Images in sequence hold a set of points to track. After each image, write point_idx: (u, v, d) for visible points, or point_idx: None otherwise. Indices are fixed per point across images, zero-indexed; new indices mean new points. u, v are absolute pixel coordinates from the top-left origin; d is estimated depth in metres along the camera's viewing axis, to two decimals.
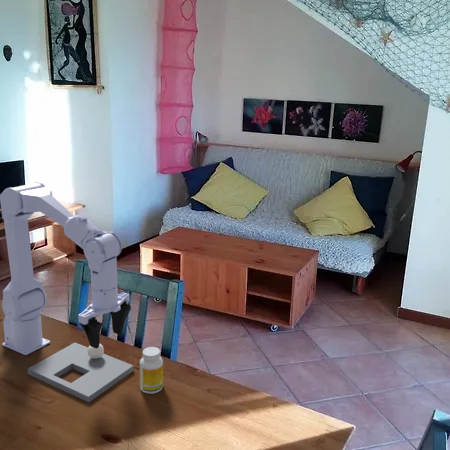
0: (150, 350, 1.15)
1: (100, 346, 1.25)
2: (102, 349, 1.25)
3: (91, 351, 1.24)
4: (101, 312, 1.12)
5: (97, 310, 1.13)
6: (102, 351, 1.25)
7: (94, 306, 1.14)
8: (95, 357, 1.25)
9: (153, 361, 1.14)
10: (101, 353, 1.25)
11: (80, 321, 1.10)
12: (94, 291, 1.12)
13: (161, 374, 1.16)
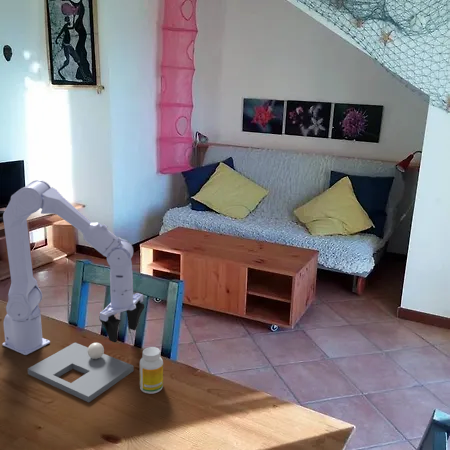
0: (150, 350, 1.16)
1: (100, 346, 1.25)
2: (102, 349, 1.25)
3: (91, 351, 1.24)
4: (119, 310, 1.28)
5: (115, 308, 1.29)
6: (102, 351, 1.25)
7: (113, 305, 1.30)
8: (95, 357, 1.25)
9: (154, 361, 1.14)
10: (101, 353, 1.25)
11: (101, 318, 1.26)
12: (113, 292, 1.28)
13: (161, 374, 1.16)
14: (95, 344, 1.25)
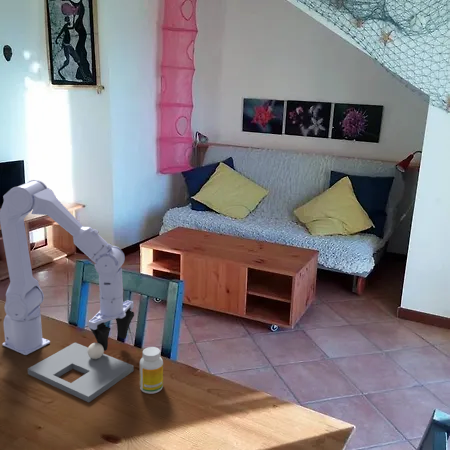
0: (150, 350, 1.15)
1: (100, 346, 1.25)
2: (102, 349, 1.25)
3: (91, 351, 1.24)
4: (108, 318, 1.25)
5: (105, 317, 1.26)
6: (102, 351, 1.25)
7: (102, 313, 1.27)
8: (95, 357, 1.25)
9: (154, 361, 1.14)
10: (101, 353, 1.25)
11: (90, 326, 1.23)
12: (102, 300, 1.25)
13: (161, 374, 1.16)
14: (95, 344, 1.25)
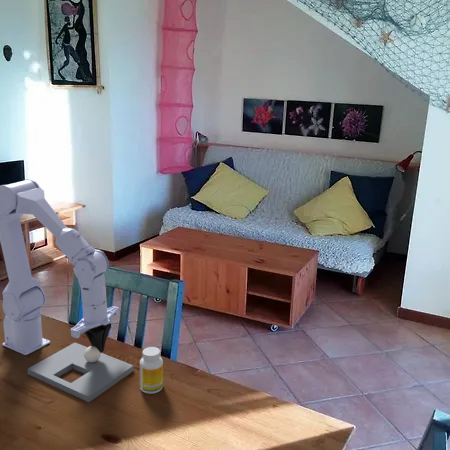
0: (150, 350, 1.16)
1: (95, 353, 1.23)
2: (97, 354, 1.23)
3: (88, 360, 1.23)
4: (92, 326, 1.19)
5: (88, 324, 1.20)
6: (98, 355, 1.24)
7: (85, 320, 1.21)
8: (94, 361, 1.24)
9: (153, 361, 1.14)
10: (98, 357, 1.24)
11: (72, 335, 1.18)
12: (85, 306, 1.20)
13: (161, 374, 1.16)
14: (89, 353, 1.23)
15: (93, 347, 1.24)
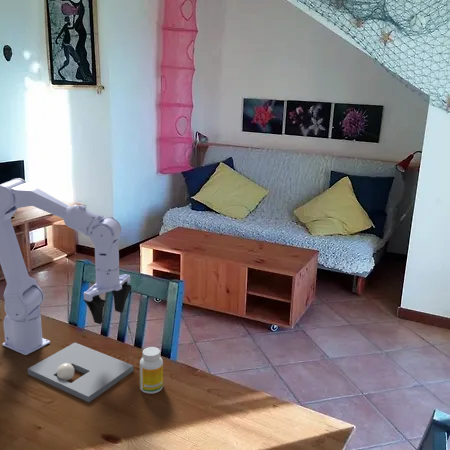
0: (150, 350, 1.16)
1: None
2: (72, 376, 1.19)
3: (70, 365, 1.19)
4: (104, 290, 1.23)
5: (101, 289, 1.24)
6: (71, 377, 1.19)
7: (98, 285, 1.24)
8: (65, 372, 1.17)
9: (153, 361, 1.14)
10: (70, 376, 1.18)
11: (85, 298, 1.21)
12: (98, 271, 1.23)
13: (161, 374, 1.16)
14: None
15: None
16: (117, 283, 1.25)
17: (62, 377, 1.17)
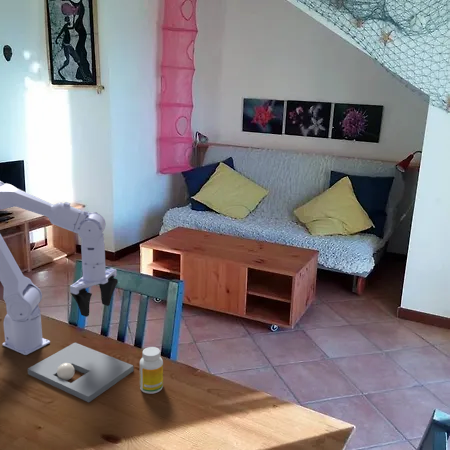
0: (150, 350, 1.15)
1: (74, 372, 1.20)
2: None
3: (70, 364, 1.19)
4: (90, 284, 1.26)
5: (87, 282, 1.27)
6: (71, 376, 1.19)
7: (84, 279, 1.28)
8: (65, 371, 1.18)
9: (153, 361, 1.14)
10: (70, 375, 1.18)
11: (72, 291, 1.24)
12: (84, 265, 1.26)
13: (161, 374, 1.16)
14: None
15: None
16: (103, 277, 1.29)
17: (62, 376, 1.18)
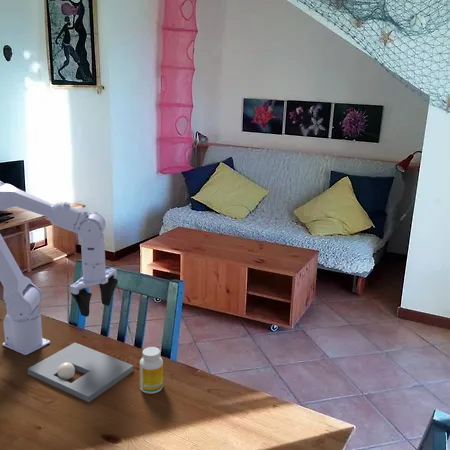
0: (150, 350, 1.16)
1: (74, 372, 1.20)
2: (73, 374, 1.19)
3: (70, 364, 1.20)
4: (90, 284, 1.26)
5: (87, 282, 1.27)
6: (71, 375, 1.19)
7: (84, 279, 1.28)
8: (66, 369, 1.18)
9: (153, 361, 1.14)
10: (70, 374, 1.19)
11: (72, 291, 1.24)
12: (84, 265, 1.26)
13: (161, 374, 1.16)
14: None
15: None
16: (103, 277, 1.29)
17: (63, 375, 1.18)
